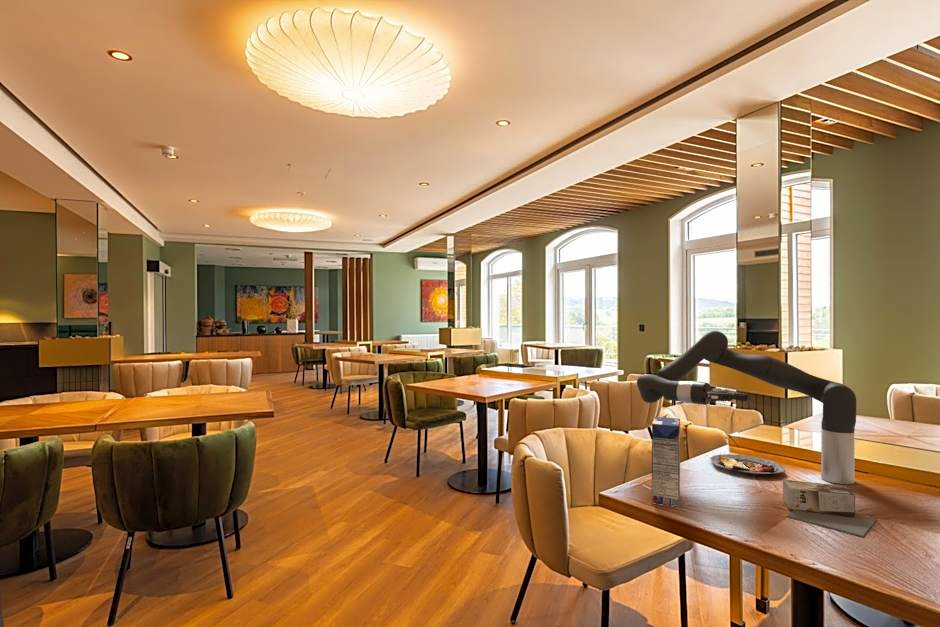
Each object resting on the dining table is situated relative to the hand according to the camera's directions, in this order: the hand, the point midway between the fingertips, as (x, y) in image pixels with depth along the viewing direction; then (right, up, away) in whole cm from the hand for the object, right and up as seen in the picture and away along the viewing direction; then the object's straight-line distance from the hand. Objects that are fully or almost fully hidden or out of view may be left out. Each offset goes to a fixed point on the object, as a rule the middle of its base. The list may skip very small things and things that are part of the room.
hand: (748, 397), depth 161 cm
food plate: (+13, -31, +26) cm, 43 cm away
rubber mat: (+12, -30, -20) cm, 38 cm away
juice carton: (-29, -30, -6) cm, 42 cm away
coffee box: (+5, -27, -11) cm, 29 cm away
